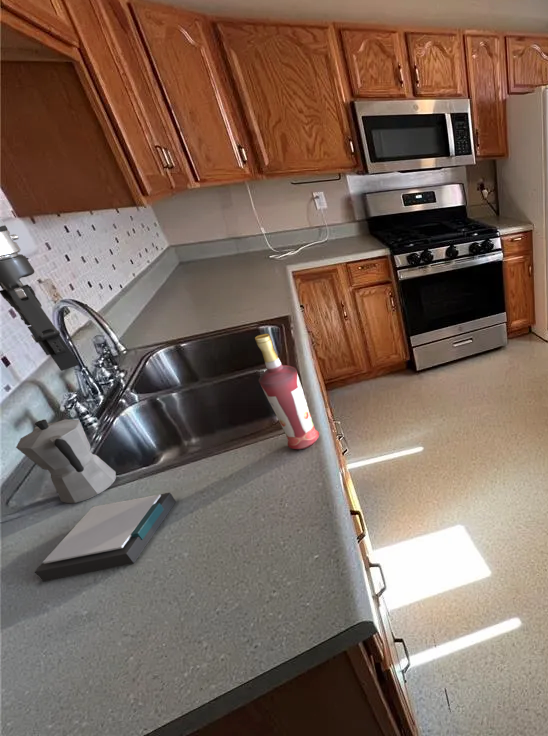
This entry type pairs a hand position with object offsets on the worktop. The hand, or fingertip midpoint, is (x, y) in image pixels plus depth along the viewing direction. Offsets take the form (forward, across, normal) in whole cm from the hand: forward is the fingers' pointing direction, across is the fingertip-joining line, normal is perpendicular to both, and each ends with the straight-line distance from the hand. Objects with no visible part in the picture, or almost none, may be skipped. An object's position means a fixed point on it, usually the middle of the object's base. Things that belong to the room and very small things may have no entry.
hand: (62, 359), depth 85 cm
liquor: (+27, -34, -26) cm, 50 cm away
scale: (+26, -27, +9) cm, 39 cm away
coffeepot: (+27, -6, +8) cm, 28 cm away
